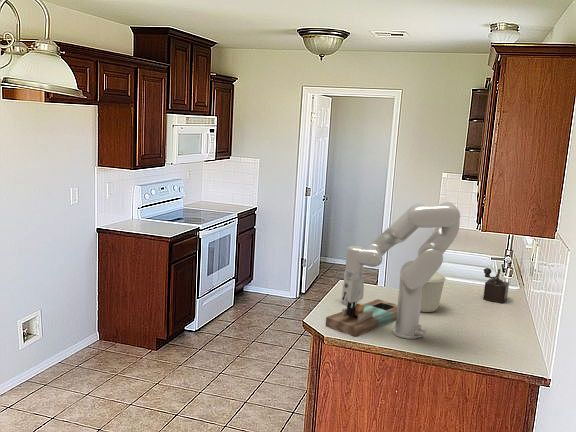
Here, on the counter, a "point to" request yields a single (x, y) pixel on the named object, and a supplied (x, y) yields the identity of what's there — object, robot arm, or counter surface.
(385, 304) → the board
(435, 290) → the canister
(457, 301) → the counter surface
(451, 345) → the counter surface
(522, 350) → the counter surface
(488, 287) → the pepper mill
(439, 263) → the robot arm
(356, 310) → the block
